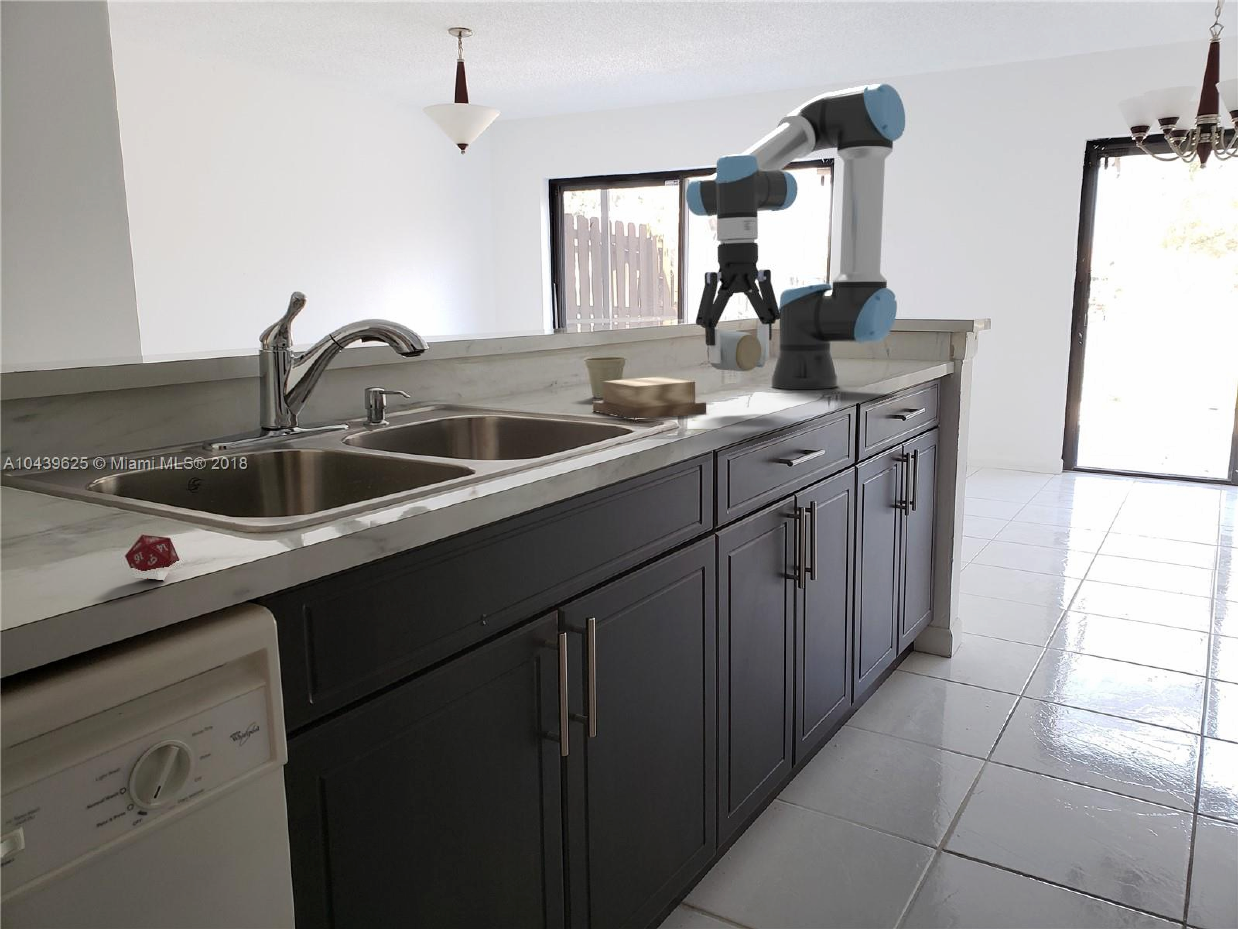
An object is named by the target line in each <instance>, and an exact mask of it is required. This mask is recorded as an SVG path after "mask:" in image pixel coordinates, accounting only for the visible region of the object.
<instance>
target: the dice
mask: <svg viewBox="0 0 1238 929" xmlns="http://www.w3.org/2000/svg"><path fill="white" fill-rule="evenodd" d="M124 557H125V559H126V561H127V564H128V566H129V568H130V569H131V568H135V569H138V570H141V571H147V570H151V569H156V568H164V567H169V566H170V565H172V564H173V563H175V562H176V561H179V560H180V557H179V555H178V553H177V551H176V547H174V544H173V542H172V539H171V537H168V536H167V537H165V536H157V535H156V536H155V535H146V534H141V536H140V537H139V538H138V539H137V540H136V541H135V543H134V544H133V545H132V547H131V548H130V549H129V550H128V551H127V553H126V554H125V555H124ZM179 562H180V561H179Z"/></svg>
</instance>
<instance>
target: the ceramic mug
mask: <svg viewBox="0 0 1238 929" xmlns="http://www.w3.org/2000/svg"><path fill="white" fill-rule="evenodd" d="M706 349H707V350H706V351H707V352H706V353H707V358H708V360H709V345H707V347H706ZM720 352H721V363H718V364H717V363H709V364H710V365H711V366H712V367H713V368H714V369H715V370H719V371H720V370H721V371H731V372H732V371H735V372H749V371H751V370H754V369H755V368H764V366H765V364H766V358H764V357H762V356H761V344H760V342H759V340H758V339H757V336H755V335H753V334H751V333H748V332H743V331H738V330H737V331H735V330H731V329H729V330H728V329H725V328H724V329H720Z"/></svg>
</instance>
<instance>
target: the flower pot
mask: <svg viewBox="0 0 1238 929" xmlns="http://www.w3.org/2000/svg"><path fill="white" fill-rule="evenodd" d="M583 360H584V362H585V365H586V368H587V371H588V375H589V382H590V386H591V394H592V398H594V397H596V398H595V399H599V398H602V399H603V381H613V380H623V375H624V367H625V366H626V365H625V363H626V360H627V357H625V356H602V357H589V358H584V359H583Z"/></svg>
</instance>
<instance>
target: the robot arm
mask: <svg viewBox="0 0 1238 929" xmlns="http://www.w3.org/2000/svg"><path fill="white" fill-rule="evenodd" d="M905 127H906V113H905V108H904V104H903V101H902V98H901V96H900V95H899V93H898V91H897V90H896V89H895V88H894V87H893V86H891V84H887V83H878V84H867V85H862V86H858V87H854V88H847V89H843V90H839V91H832V92H826V93H824V94H821V95H818V96H816V97H814V98H812V99H810V100H809V101H807V102H805V103H803V104H802V105H800V106H799V107H797V108H796V109H794V110H793V111H791V112H790V113H788V114H787V115H786V116H784V117H783V118H782V119H780V121H779V122H778V124H777V126H776V129H775V130H773V131H772V132H770V133H769V134H767V135H766V136H765V137H763V138H762V139H760V140H758V142H756V143H755V144H754V145H752V146H751V147H749V148H748V149H747V150H745V151H744V152H743V153H741V154H730V155H724V156H721V157H720V158H718V159H717V161H716V170H715V173H713V174H712V175H709V176H701V177H699V178H694V179H693V180H691V181H690V182H689V184H688V186H687V188H686V192H685V193H686V194H685V200H686V204H687V208H688V209H689V211H690V212H691V213H692V214H693V215H694V216H699V217H702V216H707V217H712V216H716V240H717V241H718V242H720V243H719V244H718V246H717V247H716V248H717V263H718V265H719V268H718V271H717V272H715V271H708V272H705V273H704V287H703V291H702V294H701V299H700V303H699V306H698V310H697V315H696V319H695V324H696V325H697V326H701V327H702V329H703V328H704V330H705V337H704V338H705V346H708V345H709V359H708V363H709V364H710V363H717V364H718V363H721V352H720V330H721V328H720V327H717V325H718V323H719V321H720V320H721V317H722V315H723V314H724V311H725V309H726V307H727V305H728V303H729V300H730V299H731V298H732V297H733V296H734V294H740V293H743V294H744V295H745V296H746V298H747V299H748V301H749V302H750V305H751V306H752V308H753V311H754V312H755V313H756V316H757V318H758V320H759V321H760V323H757V324H756V325H757V326H756V329H757V330H756V332H757V333H756V337H757V339H758V340H759V342H760V344H761V356H762V357H764V358H765V359H770V341H772V336H773V335H772V334H773V333H772V331H773V330H772V324H776V321H777V320H779V354H778V357H777V360H776V363H775V366H774V371H773V374H772V375H771V376H772V377H771V387H773V388H777V389H786V390H817V389H818V390H819V389H830V388H836V387H837V386H838V375H837V374H836V369H835V365H834V361H833V358H832V355H831V343H857V344H866V343H877V342H880V341H882V340H883V339H885V337H887V336H888V335H889V333H890V332H891V330H892V328H893V326H894V323H895V320H896V316H897V310H898V309H897V308H898V304H897V299H896V294H895V293H894V291H892V290H891V289H889V288H888V286H887V284H888V283H887V282H888V281H887V279H886V278H885V277H884V276H883V275H882V273H881V258H882V236H883V214H884V213H883V211H884V210H883V209H884V188H885V186H884V185H885V166H886V164H885V162H886V159H887V158H888V157H889V156H890V155H891V154H892V153H893V150H894V149H893V147H894V145H893V144H894V142H895V141H897V140H899V139H900V138H901V137H902V136H903V134H904V132H905ZM826 149H827V150H828V149H837V150H836V151H837V152H836V154H837V155H838V156H839V158H841V159H842V161H843V175H842V176H843V177H842V178H843V179H842V180H843V181H842V202H841V204H842V207H841V209H842V210H841V234H840V235H841V236H840V238H841V239H840V262H839V266H840V267H839V274H838V276H836V277H835V278H834V279H833V280H832V285H831V284H830V283H818V284H810V285H802V286H795V287H792V288H791V287H790V288H787V289H785V290H784V291H782V292H781V294H780V298H779V306H778V303H777V299H776V295H775V292H774V288H773V283H772V271H771V269H759V270H758V268H757V263H758V262H759V244H758V243H757V242H755V240H757V239H759V232H758V231H759V230H758V228H759V227H758V226H759V225H758V224H759V223H758V219H759V217H758V212H763V211H771V212H778V211H784V210H786V209H788V208H790V207H791V206H792V205H793V204H794V202H795V201H796V199H797V196H798V191H799V190H798V183H797V180H796V178H795V177H794V175H793V174H792V173H791V172H788V171H785V170H783V169H784V168H785V167H787V165H788V164H790V163H791V162H793V161H794V160H796V159H802V158H805V157H807V156H809V155H810V154H811V153H813V152H817V151H822V150H826ZM756 280H757V283H756ZM719 283H721V284H720V286H719V288H718V284H719ZM757 284H758V285H757ZM716 293H717V295H716Z"/></svg>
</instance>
